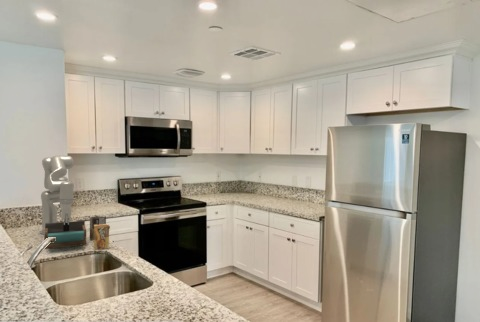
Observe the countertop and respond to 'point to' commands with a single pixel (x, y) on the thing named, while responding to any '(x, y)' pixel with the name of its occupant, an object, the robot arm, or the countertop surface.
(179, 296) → the countertop surface
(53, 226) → the hinged box
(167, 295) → the countertop surface
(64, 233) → the panel
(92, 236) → the coffee box
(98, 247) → the candy box
